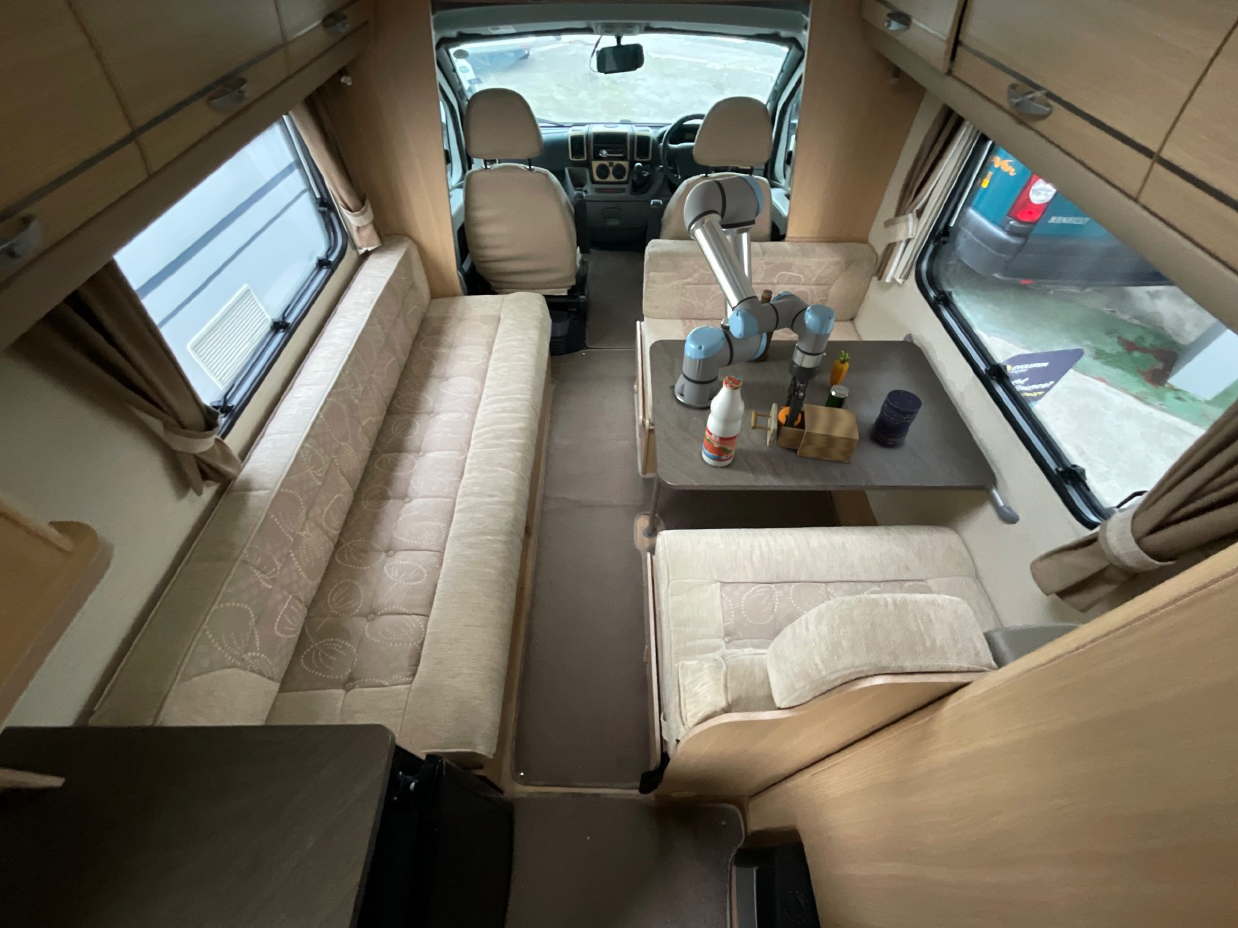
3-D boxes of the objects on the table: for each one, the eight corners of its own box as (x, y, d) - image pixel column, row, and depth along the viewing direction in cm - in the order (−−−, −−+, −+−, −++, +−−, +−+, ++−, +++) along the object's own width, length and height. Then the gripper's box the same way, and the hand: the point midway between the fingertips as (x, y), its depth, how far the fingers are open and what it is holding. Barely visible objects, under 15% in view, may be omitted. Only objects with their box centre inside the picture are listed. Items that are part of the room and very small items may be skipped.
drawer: (747, 444, 169) (752, 424, 163) (749, 419, 177) (754, 400, 171) (813, 454, 166) (820, 434, 160) (811, 428, 174) (818, 409, 168)
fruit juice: (739, 455, 166) (758, 380, 146) (721, 472, 161) (738, 396, 141) (713, 440, 171) (728, 365, 151) (695, 456, 166) (707, 381, 146)
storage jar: (908, 446, 171) (929, 408, 160) (880, 450, 169) (898, 412, 159) (891, 424, 178) (909, 387, 167) (863, 428, 176) (880, 391, 165)
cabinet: (797, 455, 167) (805, 431, 160) (796, 427, 176) (804, 403, 169) (848, 463, 165) (859, 439, 158) (844, 434, 174) (854, 410, 167)
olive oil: (751, 366, 198) (766, 302, 180) (732, 351, 205) (745, 288, 187) (774, 357, 202) (790, 294, 184) (754, 343, 209) (769, 281, 191)
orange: (775, 431, 166) (780, 414, 161) (776, 417, 171) (780, 400, 166) (798, 434, 165) (803, 417, 161) (797, 420, 170) (802, 403, 165)
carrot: (841, 394, 188) (855, 357, 177) (826, 394, 188) (840, 357, 177) (837, 385, 191) (851, 348, 181) (823, 385, 191) (836, 348, 181)
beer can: (819, 422, 178) (830, 393, 169) (820, 412, 181) (831, 382, 173) (837, 426, 177) (849, 396, 168) (837, 415, 180) (849, 386, 172)
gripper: (822, 384, 144) (799, 448, 161) (818, 343, 157) (798, 406, 174) (792, 380, 145) (773, 444, 161) (791, 340, 158) (773, 403, 175)
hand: (786, 424), depth 168 cm, fingers closed on orange, 6 cm apart
